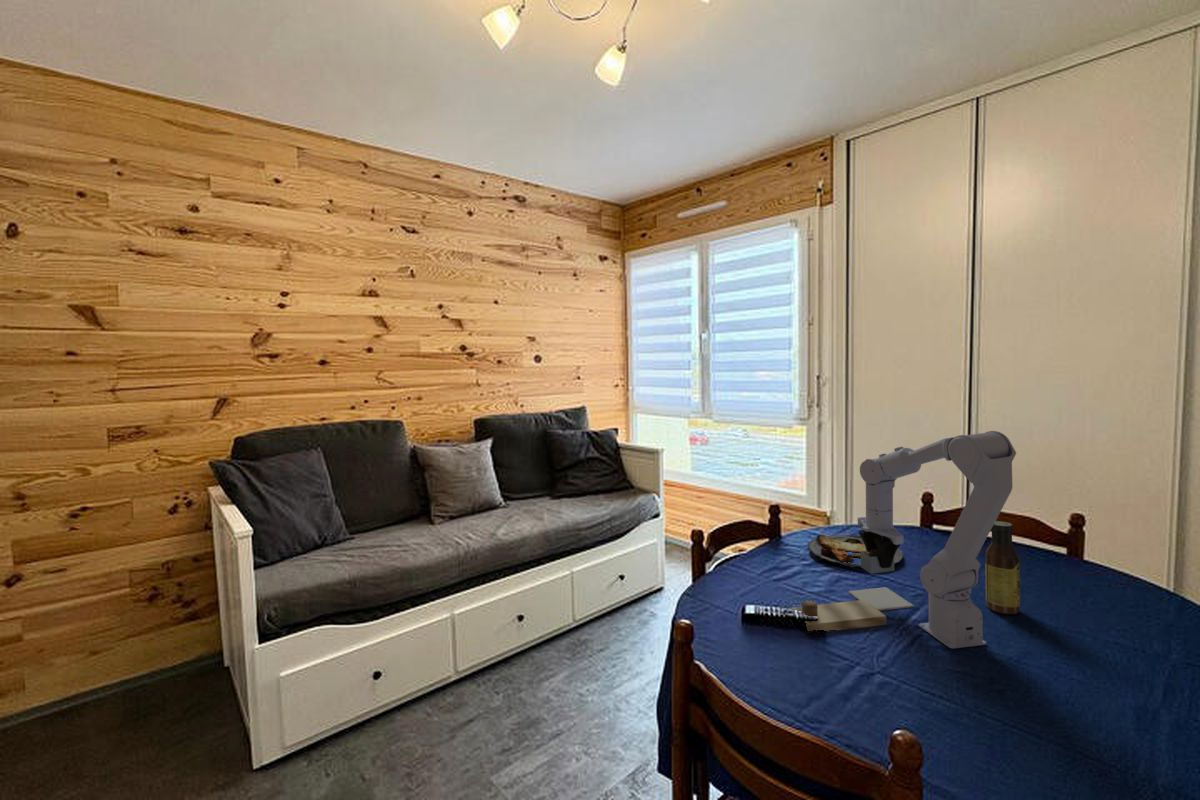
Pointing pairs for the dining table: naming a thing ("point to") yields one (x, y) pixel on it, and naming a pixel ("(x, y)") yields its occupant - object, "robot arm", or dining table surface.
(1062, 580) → the dining table surface
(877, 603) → the rubber mat
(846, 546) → the food plate
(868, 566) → the grey block
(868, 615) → the body
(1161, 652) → the dining table surface
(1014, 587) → the sauce bottle
